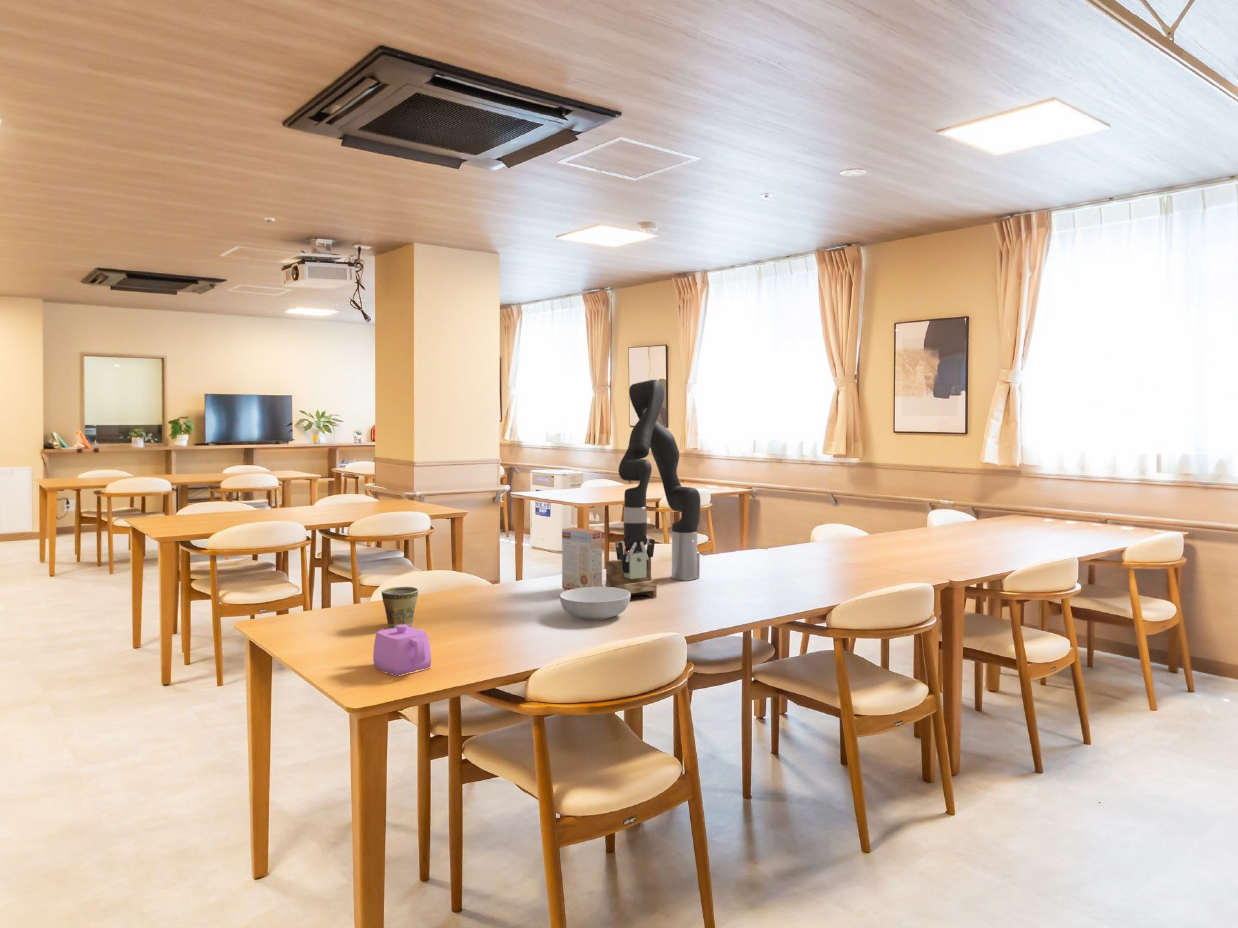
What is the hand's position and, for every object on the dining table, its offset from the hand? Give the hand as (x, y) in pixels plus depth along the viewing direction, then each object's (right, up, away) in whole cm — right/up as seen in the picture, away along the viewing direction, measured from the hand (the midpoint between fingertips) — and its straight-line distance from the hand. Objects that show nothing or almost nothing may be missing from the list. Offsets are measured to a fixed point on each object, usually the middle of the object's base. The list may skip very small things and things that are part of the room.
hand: (635, 571), depth 267 cm
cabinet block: (0, -2, 0) cm, 2 cm away
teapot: (-57, -13, -73) cm, 94 cm away
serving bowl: (-12, -10, -24) cm, 29 cm away
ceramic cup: (-67, -11, -33) cm, 76 cm away
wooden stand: (0, -8, +1) cm, 8 cm away
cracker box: (-18, -8, +11) cm, 22 cm away
